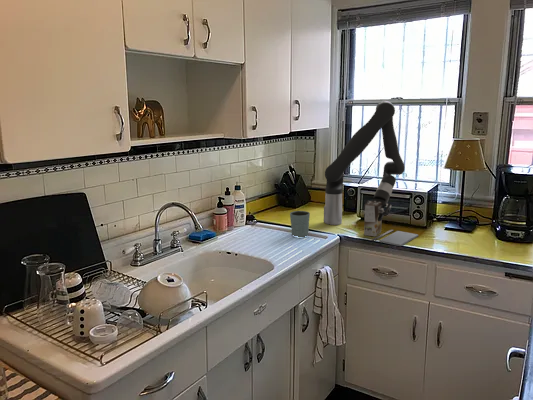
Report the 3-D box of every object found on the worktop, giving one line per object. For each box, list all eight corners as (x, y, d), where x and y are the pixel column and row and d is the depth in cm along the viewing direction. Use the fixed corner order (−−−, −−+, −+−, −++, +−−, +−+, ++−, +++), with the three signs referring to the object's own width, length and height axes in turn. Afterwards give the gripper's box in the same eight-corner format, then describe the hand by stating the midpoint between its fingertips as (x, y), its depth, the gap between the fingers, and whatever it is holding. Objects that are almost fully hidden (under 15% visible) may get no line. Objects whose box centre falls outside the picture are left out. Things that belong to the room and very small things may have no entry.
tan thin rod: (370, 240, 223) (370, 239, 223) (390, 230, 239) (390, 229, 239) (373, 241, 222) (373, 240, 222) (393, 230, 238) (393, 230, 238)
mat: (379, 241, 221) (379, 240, 220) (397, 232, 235) (397, 230, 235) (400, 246, 214) (400, 244, 213) (418, 236, 228) (418, 234, 228)
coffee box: (376, 236, 228) (377, 206, 225) (363, 235, 232) (364, 204, 228) (381, 232, 236) (382, 202, 232) (369, 230, 239) (370, 200, 236)
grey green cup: (295, 239, 227) (295, 216, 224) (286, 234, 236) (286, 211, 233) (313, 236, 231) (313, 214, 228) (304, 231, 240) (304, 209, 237)
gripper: (368, 187, 239) (356, 213, 233) (394, 190, 230) (382, 217, 224) (373, 195, 244) (361, 221, 238) (398, 198, 235) (387, 225, 229)
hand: (371, 219), depth 231 cm, fingers closed on coffee box, 7 cm apart
